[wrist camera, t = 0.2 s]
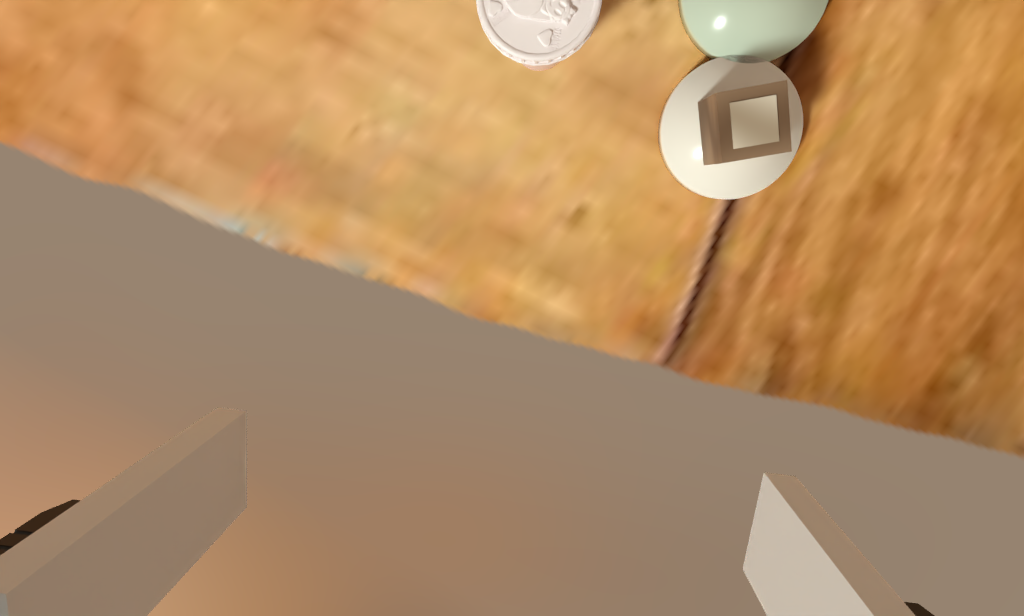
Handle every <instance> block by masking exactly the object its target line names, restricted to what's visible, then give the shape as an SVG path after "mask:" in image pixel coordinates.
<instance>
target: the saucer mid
mask: <svg viewBox="0 0 1024 616" xmlns="http://www.w3.org/2000/svg"><path fill="white" fill-rule="evenodd" d="M827 3H828V0H678V6H679V12H680V17H681V20H682V24H683V26H684V28H685V31H686V33H687V35H688V36H689V38H690V39H691V41H692V42H693V43H694V45H695V46H696V47H697V48H698V49H699V50H700V51H701V52H702V53H703V54H705V55H706V56H708V57H709V58H711V59H712V60H713V59H715V58H719V57H722V56H723V57H722V58H724V59H726V58H729V57H731V59H732V58H734V60H735V61H734V60H733V62H736V60H739V61H737V62H740V59H741V57H740V56H743V57H742V59H741V61H742V60H743V61H742V62H743V63H745V62H746V61H747V60H748V61H747V62H746V63H751V61H753V60H754V59H755V58H754V57H756V58H758V59H759V58H761V60H766V61H768V62H770V61H773V60H775V59H777V58H779V57H780V56H782V55H784V54H786V53H788V52H790V51H791V50H792V49H794V48H795V47H797V46H798V45H799V44H800V43H801V42H803V41H804V40H805V39H806V38H807V37H808V35H809V34H810V33H811V32H812V31H813V30H814V28H815V27H816V25H817V24H818V22H819V21H820V19H821V17H822V15H823V13H824V11H825V8H826V6H827ZM728 55H729V56H728ZM731 55H732V56H734V55H735V56H734V57H732V56H731ZM736 55H737V56H738V55H740V56H738V57H740V58H739V59H737V58H738V57H737V56H736ZM745 55H747V56H745ZM750 56H751V58H753V60H752V59H751V61H750V59H749V58H750ZM753 56H754V57H753ZM735 57H736V58H735ZM746 57H747V58H748V59H747V58H746ZM745 58H746V59H747V60H746V61H744V60H745ZM731 59H730V61H732V60H731ZM758 59H757V60H758ZM728 60H729V59H728ZM754 62H755V63H759V62H760V60H759V61H758V62H756V60H754ZM754 62H753V63H754ZM740 63H741V62H740Z"/></svg>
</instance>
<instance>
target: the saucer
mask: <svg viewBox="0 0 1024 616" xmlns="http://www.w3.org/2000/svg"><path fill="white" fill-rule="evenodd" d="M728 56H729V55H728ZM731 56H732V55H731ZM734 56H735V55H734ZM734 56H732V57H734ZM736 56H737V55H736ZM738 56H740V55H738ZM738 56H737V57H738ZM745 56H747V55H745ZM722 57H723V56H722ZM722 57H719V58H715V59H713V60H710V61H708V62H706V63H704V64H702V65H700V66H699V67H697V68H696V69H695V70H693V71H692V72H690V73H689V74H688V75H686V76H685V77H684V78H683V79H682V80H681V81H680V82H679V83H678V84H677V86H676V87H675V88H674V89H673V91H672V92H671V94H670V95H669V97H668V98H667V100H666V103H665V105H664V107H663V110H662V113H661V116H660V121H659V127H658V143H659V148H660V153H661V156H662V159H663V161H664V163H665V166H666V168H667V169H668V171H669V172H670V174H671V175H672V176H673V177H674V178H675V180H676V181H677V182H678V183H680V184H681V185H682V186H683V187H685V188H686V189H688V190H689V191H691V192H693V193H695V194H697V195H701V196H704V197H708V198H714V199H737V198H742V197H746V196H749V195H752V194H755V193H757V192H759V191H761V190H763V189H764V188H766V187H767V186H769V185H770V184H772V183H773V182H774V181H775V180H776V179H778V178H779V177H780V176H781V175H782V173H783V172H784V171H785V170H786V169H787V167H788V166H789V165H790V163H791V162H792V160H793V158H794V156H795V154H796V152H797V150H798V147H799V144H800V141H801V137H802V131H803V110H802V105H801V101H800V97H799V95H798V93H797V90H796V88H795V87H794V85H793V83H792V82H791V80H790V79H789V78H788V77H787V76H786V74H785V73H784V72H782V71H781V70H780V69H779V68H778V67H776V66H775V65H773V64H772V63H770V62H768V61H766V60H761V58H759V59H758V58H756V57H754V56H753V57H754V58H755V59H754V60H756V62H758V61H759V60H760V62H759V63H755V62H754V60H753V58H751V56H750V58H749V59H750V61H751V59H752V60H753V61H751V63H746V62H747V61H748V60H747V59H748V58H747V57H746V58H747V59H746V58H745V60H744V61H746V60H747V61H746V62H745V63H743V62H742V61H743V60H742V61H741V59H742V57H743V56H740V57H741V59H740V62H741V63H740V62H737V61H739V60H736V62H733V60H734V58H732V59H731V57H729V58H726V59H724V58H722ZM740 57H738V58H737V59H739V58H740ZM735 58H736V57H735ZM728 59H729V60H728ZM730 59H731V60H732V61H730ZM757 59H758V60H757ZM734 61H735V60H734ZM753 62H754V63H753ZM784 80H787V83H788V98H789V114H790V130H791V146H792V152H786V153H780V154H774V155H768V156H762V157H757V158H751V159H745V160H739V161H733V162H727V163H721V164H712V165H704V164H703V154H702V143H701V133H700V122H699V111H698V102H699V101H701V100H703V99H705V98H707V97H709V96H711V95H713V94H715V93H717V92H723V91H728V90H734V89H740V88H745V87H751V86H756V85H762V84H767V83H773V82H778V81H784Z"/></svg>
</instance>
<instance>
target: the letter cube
mask: <svg viewBox="0 0 1024 616" xmlns="http://www.w3.org/2000/svg"><path fill="white" fill-rule="evenodd" d="M698 111H699V122H700V133H701V143H702V154H703V164H704V165H712V164H721V163H727V162H733V161H739V160H745V159H751V158H757V157H762V156H768V155H774V154H780V153H786V152H792V146H791V130H790V114H789V98H788V83H787V80H784V81H778V82H773V83H767V84H762V85H756V86H751V87H745V88H740V89H734V90H728V91H723V92H717V93H715V94H713V95H711V96H709V97H707V98H705V99H703V100H701V101H699V102H698Z"/></svg>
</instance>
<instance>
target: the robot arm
mask: <svg viewBox="0 0 1024 616" xmlns="http://www.w3.org/2000/svg"><path fill="white" fill-rule="evenodd" d="M246 507H247V411H246V410H237V409H229V408H221V407H217V408H215V409H214V410H213V411H211V412H210V413H208V414H207V415H205V416H204V417H202V418H201V419H199V420H198V421H196V422H195V423H193V424H192V425H191V426H189V427H188V428H186V429H185V430H183V431H182V432H180V433H179V434H178V435H176V436H175V437H173V438H172V439H170V440H169V441H167V442H166V443H164V444H163V445H161V446H160V447H158V448H157V449H156V450H154V451H152V452H151V453H150V454H148V455H147V456H145V457H144V458H142V459H141V460H139V461H138V462H137V463H135V464H133V465H132V466H131V467H129V468H128V469H126V470H125V471H123V472H122V473H120V474H119V475H117V476H116V477H115V478H113V479H112V480H110V481H109V482H107V483H106V484H104V485H103V486H101V487H100V488H98V489H97V490H95V491H94V492H93V493H91V494H90V495H88V496H87V497H85V498H84V499H82V500H81V501H80V500H71V501H68V502H66V503H64V504H61V505H59V506H56V507H54V508H52V509H49V510H47V511H44V512H42V513H40V514H39V515H37V516H35V517H34V518H32V519H31V520H29V521H28V522H26V523H25V524H23V525H22V526H20V527H19V528H17V529H16V530H15V532H14V533H9V534H8V535H6V536H5V537H3V538H2V539H0V616H147V615H148V614H149V613H150V612H151V611H152V610H153V608H154V607H155V606H156V605H157V604H158V603H159V602H160V601H161V600H162V599H163V598H164V597H165V595H166V594H167V593H168V592H169V591H170V590H171V589H172V588H173V587H174V586H175V585H176V584H177V582H178V581H179V580H180V579H181V578H182V577H183V576H184V575H185V573H187V572H188V570H189V569H190V568H191V567H192V566H193V565H194V564H195V563H196V562H197V561H198V560H199V558H200V557H201V556H202V555H203V554H204V553H205V552H206V551H207V550H208V549H209V547H210V546H211V545H212V544H213V543H214V542H215V541H216V540H217V539H218V538H219V537H220V536H221V535H222V533H223V532H224V531H225V530H226V529H227V528H228V527H229V526H230V525H231V524H232V522H233V521H234V520H235V519H236V518H237V517H238V516H239V515H240V514H241V513H242V512H243V511H244V509H245V508H246ZM743 570H744V572H745V574H746V576H747V578H748V580H749V582H750V584H751V586H752V588H753V590H754V591H755V593H756V595H757V597H758V599H759V601H760V603H761V605H762V607H763V609H764V611H765V613H766V615H767V616H934V615H933V614H931V613H930V612H929V611H927V610H926V609H924V608H923V607H922V606H921V605H919V604H916V603H908V602H903V601H902V599H901V598H900V597H899V596H898V595H897V594H896V593H895V591H894V590H893V589H892V588H891V587H890V585H889V584H888V583H887V582H886V581H885V580H884V578H883V577H882V576H881V575H880V574H879V573H878V572H877V570H875V568H874V567H873V566H872V565H871V563H870V562H869V561H868V560H867V559H866V558H865V557H864V555H863V554H862V553H861V552H860V551H859V550H858V548H857V547H856V546H855V545H854V544H853V543H852V541H851V540H850V539H849V538H848V537H847V536H846V535H845V534H844V532H843V531H842V530H841V529H840V528H839V526H837V524H836V523H835V522H834V521H833V519H832V518H831V517H830V516H829V515H828V514H827V513H826V511H825V510H824V509H823V508H822V507H821V506H820V504H819V503H818V502H817V501H816V500H815V499H814V498H813V497H812V495H811V494H810V493H809V492H808V491H807V489H806V488H805V487H804V486H803V485H802V484H801V482H800V481H799V480H798V479H797V478H796V477H795V476H789V475H782V474H773V473H764V474H763V479H762V484H761V488H760V492H759V497H758V502H757V506H756V511H755V515H754V520H753V525H752V529H751V533H750V538H749V543H748V547H747V552H746V557H745V561H744V566H743Z"/></svg>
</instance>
